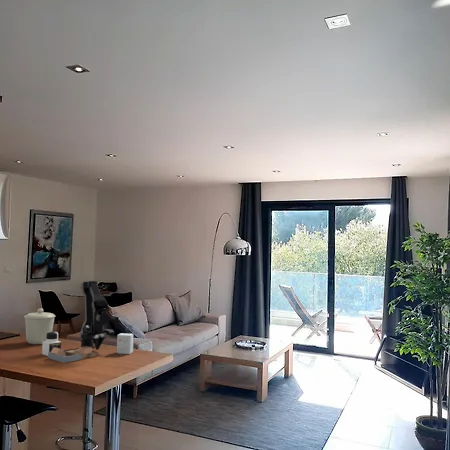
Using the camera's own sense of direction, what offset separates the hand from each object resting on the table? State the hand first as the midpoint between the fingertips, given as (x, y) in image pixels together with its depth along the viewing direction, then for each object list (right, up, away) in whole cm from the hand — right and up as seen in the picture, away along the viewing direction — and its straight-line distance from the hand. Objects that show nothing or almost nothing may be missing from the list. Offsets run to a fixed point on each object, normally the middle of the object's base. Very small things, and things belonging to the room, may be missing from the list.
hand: (97, 349), depth 244 cm
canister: (-43, -3, +25) cm, 50 cm away
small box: (+14, -4, +6) cm, 16 cm away
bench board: (-7, -2, -4) cm, 9 cm away
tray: (-13, -1, -13) cm, 19 cm away
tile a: (-17, +3, -11) cm, 20 cm away
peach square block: (-5, 0, -7) cm, 8 cm away
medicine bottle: (-24, -2, -4) cm, 25 cm away
